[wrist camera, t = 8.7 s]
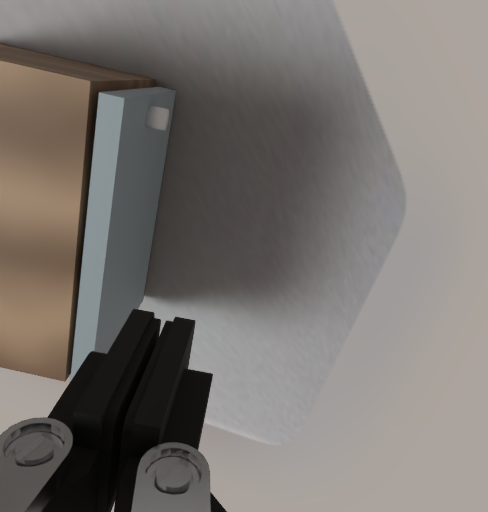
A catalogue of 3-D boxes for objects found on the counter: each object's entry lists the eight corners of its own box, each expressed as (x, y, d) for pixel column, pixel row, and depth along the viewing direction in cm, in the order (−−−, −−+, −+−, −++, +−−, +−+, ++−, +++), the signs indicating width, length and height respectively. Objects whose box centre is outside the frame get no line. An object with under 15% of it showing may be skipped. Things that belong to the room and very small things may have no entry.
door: (159, 86, 32) (99, 92, 22) (190, 94, 32) (145, 103, 22) (128, 301, 38) (69, 388, 28) (154, 307, 39) (105, 396, 28)
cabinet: (-14, 40, 32) (-168, 22, 21) (155, 79, 33) (90, 81, 21) (-15, 261, 39) (-135, 337, 28) (126, 293, 39) (65, 381, 28)
